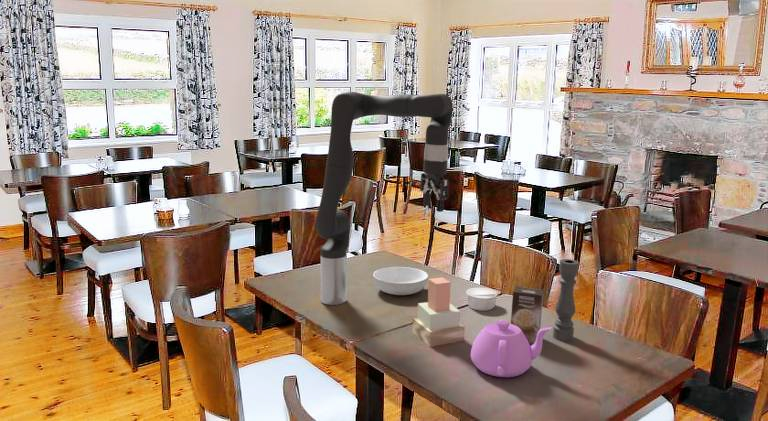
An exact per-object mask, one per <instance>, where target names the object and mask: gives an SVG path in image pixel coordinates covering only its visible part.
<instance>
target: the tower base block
mask: <svg viewBox="0 0 768 421" xmlns="http://www.w3.org/2000/svg"><path fill="white" fill-rule="evenodd" d="M411 325H412V330H411V332H412V333H413V334H414V335H415V336H417V337H418V338H419V339H420V340H422V342H424V343H425V344H426V345H427V346H429V348H430V347H435V346H441V345H446V344H452V343H458V342H463V341H465V325H463V324H461V323H460V324H459V327H451V328H442V329H434V330H429V329H428V328H427V327H426V326H425V325H424V324H423V323H422V322H421V321H420V320H419V319H418V317H413V318H412V324H411Z"/></svg>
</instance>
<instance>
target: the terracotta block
mask: <svg viewBox="0 0 768 421" xmlns="http://www.w3.org/2000/svg"><path fill="white" fill-rule="evenodd" d="M427 284H428V287H427V290H428V291H427V302H428V307H429V308H431V309H432V310H433V311H435V312H438V311H444V310H449V309H450V303H451V300H450V299H451V281H449V280H448V279H446V278H445V277H436V278H435V277H434V278H428V280H427Z"/></svg>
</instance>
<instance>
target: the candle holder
mask: <svg viewBox="0 0 768 421" xmlns="http://www.w3.org/2000/svg"><path fill="white" fill-rule="evenodd" d="M579 265H580V262H579V261H577V260H575V259H571V258H563V259H560V260H559V269H558V271H559V274H560V276H561V277H560V278H559V280H558V282H559V283H560V291H559V292H560V293H559V295H558V298H557V302H556V304H555V308H554V309H555V313H556V316H557V319H555V321H554V325H553V331H552V337H553V339H555V340H558V341H562V342H570V341H573V339H574V333H575V332H574V331H575V328H574V322H573V320H572V318H573V316H574V315H575V313H576V311H577V310H576V304H575V297H574V287H575V286H576V284H577V280H576V279H575V278H576V277H577V276H578V273H579V268H580V267H579Z"/></svg>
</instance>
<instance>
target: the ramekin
mask: <svg viewBox="0 0 768 421" xmlns="http://www.w3.org/2000/svg"><path fill="white" fill-rule="evenodd" d="M465 295H466V302H467V306H468V307H469V308H471V309H472V310H475V311H481V312H485V311H490V310H493V308H495V306H496V302H497V298H498V293H497V291H496V290H494V289H491V288H487V287H472V288H471V287H470V288H468V289H467V290H466V291H465Z"/></svg>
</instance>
